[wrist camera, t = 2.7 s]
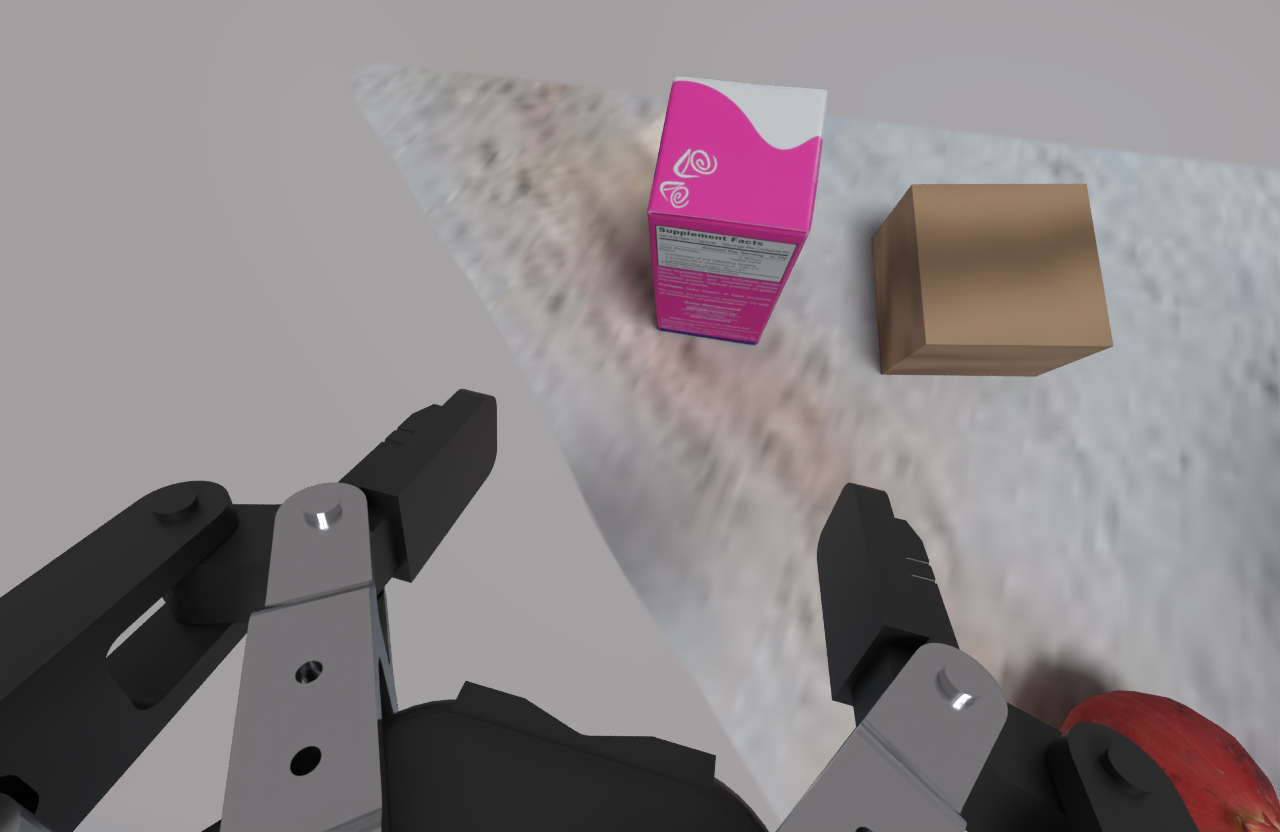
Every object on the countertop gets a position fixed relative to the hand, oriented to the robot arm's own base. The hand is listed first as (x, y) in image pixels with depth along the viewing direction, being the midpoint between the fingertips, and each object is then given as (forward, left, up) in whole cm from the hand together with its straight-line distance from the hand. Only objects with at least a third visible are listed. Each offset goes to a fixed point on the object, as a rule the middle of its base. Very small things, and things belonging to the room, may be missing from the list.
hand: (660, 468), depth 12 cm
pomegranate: (-9, -20, -16) cm, 27 cm away
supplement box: (+12, -2, -16) cm, 20 cm away
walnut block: (+12, -15, -16) cm, 25 cm away
